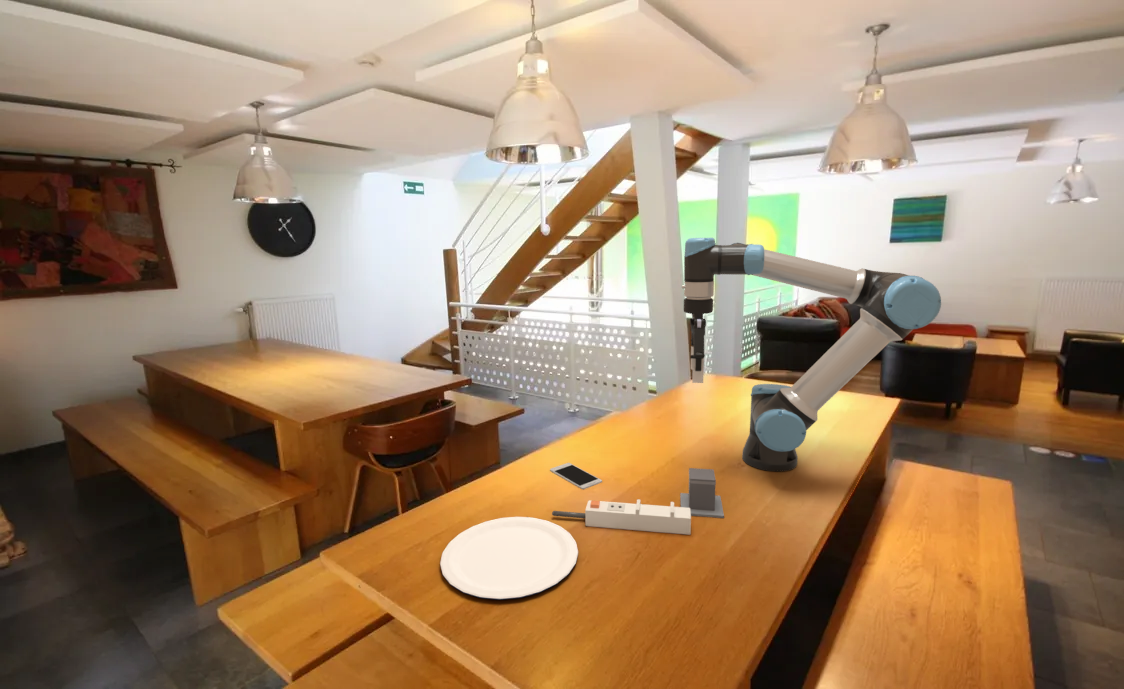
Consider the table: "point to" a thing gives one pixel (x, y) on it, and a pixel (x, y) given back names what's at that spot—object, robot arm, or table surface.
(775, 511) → the table surface
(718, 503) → the mat
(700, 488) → the grey block
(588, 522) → the power strip
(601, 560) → the table surface
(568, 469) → the smartphone
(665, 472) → the table surface
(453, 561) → the plate
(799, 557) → the table surface
